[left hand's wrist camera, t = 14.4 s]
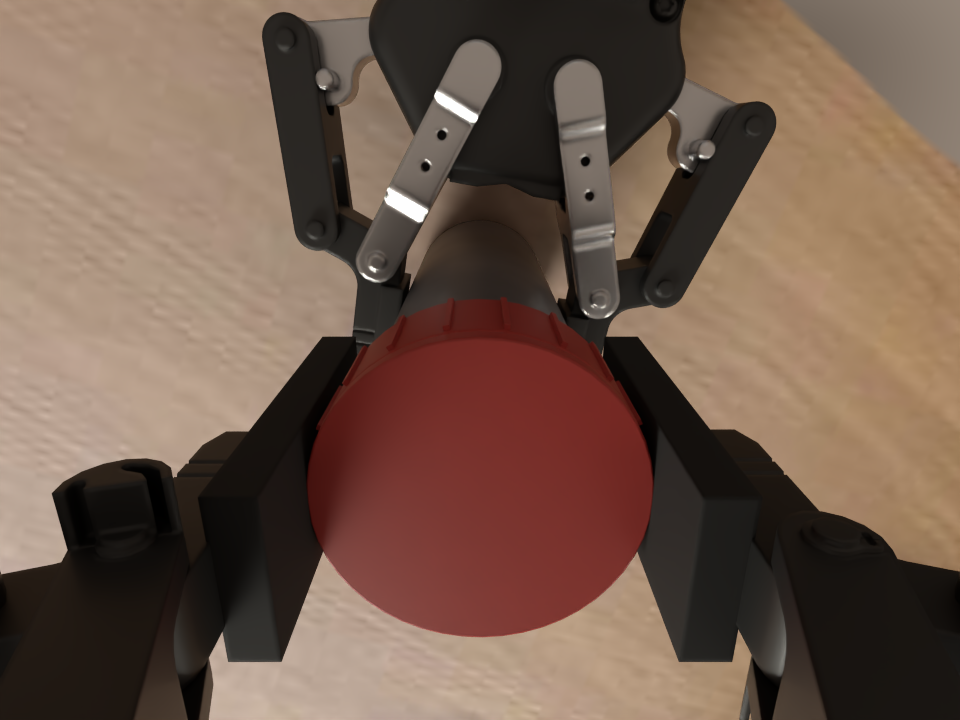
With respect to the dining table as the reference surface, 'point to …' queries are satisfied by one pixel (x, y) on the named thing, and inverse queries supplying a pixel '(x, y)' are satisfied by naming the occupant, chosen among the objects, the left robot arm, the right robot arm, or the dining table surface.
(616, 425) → the lid
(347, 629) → the dining table surface
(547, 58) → the right robot arm
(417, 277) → the jar
